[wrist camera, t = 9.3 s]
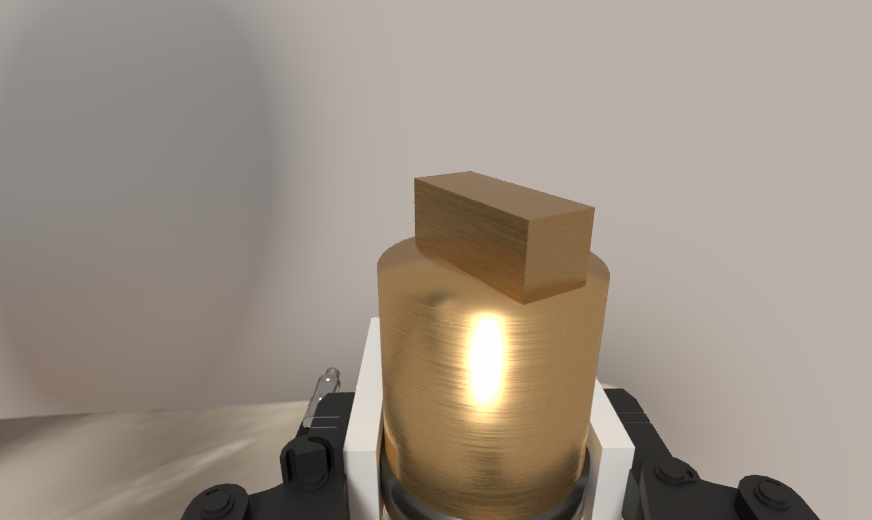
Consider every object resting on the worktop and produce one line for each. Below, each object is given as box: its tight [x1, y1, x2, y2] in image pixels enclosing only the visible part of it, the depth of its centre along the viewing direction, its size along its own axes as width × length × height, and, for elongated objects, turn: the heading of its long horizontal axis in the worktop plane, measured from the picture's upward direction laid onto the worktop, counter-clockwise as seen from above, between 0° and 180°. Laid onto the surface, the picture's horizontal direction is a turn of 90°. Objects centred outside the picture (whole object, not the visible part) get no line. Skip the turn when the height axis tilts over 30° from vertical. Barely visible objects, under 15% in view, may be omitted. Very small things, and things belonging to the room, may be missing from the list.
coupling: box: [377, 171, 610, 520], centre depth 13 cm, size 5×5×15 cm
